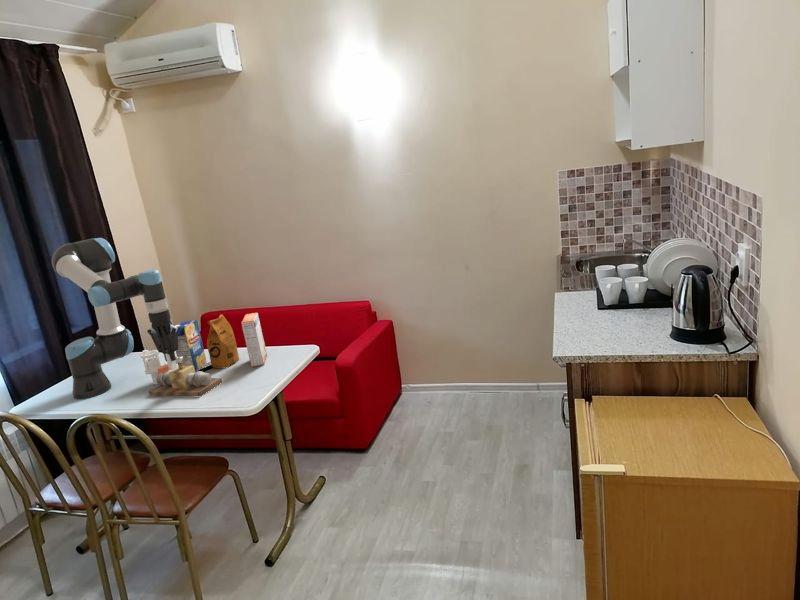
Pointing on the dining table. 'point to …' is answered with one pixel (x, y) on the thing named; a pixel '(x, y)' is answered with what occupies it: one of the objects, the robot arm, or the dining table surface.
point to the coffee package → (221, 343)
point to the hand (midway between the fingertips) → (173, 368)
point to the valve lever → (165, 367)
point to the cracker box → (254, 339)
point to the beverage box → (190, 345)
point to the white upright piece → (151, 363)
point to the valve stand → (184, 382)
